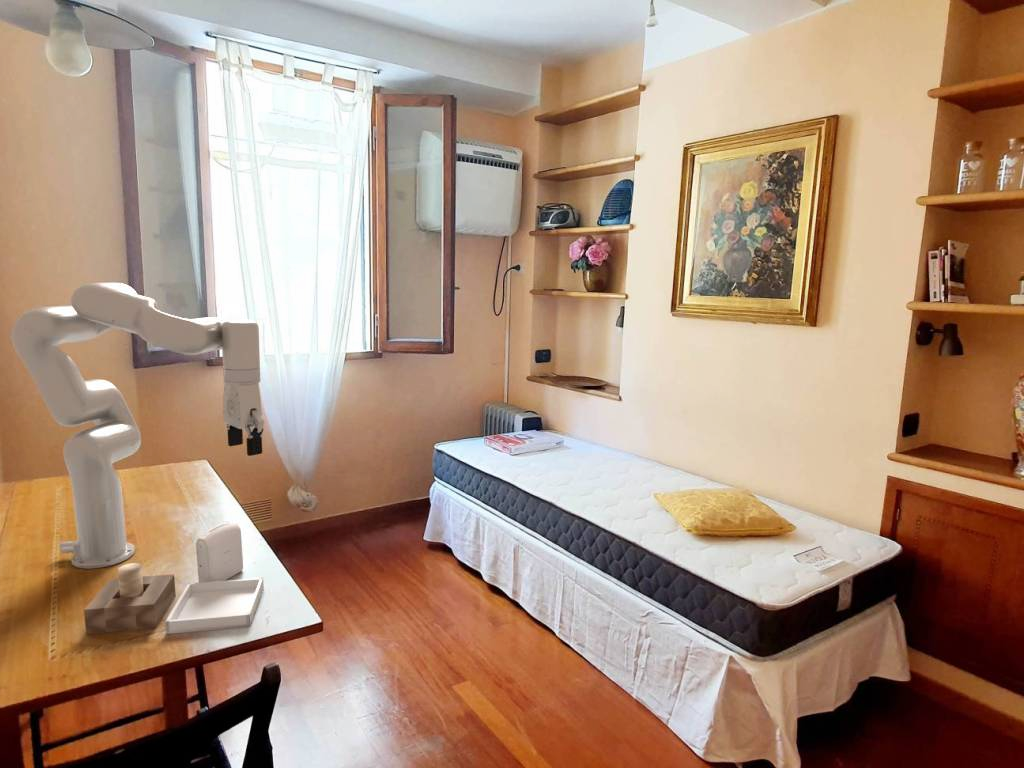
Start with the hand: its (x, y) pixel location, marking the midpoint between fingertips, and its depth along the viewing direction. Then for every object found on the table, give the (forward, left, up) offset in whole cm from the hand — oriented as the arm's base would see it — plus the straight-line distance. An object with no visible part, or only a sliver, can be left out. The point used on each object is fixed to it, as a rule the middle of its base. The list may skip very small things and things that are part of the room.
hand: (245, 449), depth 140 cm
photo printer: (-5, -5, -29) cm, 30 cm away
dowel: (-19, -18, -28) cm, 38 cm away
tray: (-3, -19, -28) cm, 34 cm away
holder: (-19, -18, -28) cm, 38 cm away
